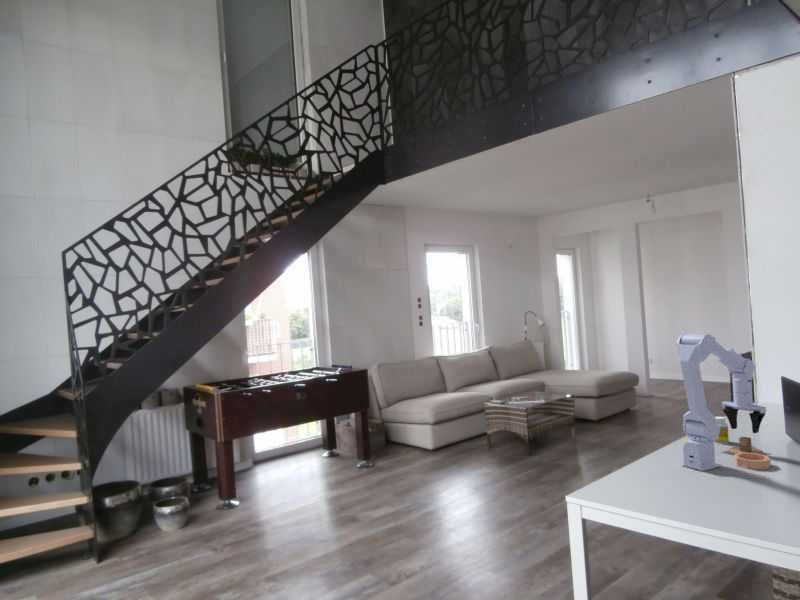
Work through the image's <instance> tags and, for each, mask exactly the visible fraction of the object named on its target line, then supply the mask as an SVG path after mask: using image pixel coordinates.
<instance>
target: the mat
mask: <svg viewBox="0 0 800 600" xmlns="http://www.w3.org/2000/svg"><path fill="white" fill-rule="evenodd" d="M720 453H721V454H727V455H729V456H733V455H732V454H730V453H729V452H728V450H725V451H721V452H720ZM764 455H766V456H770V455H771V453H769V452H764Z"/></svg>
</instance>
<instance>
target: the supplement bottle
mask: <svg viewBox="0 0 800 600" xmlns="http://www.w3.org/2000/svg"><path fill="white" fill-rule="evenodd" d="M715 418H716V422H717V423H718V425H719V428H720V433H719V436H718V438H717V439H716V440H714V444H721V445H725V444H726V445H727V444H729V442H730V440H729V425H728V423H726V417H724V416H715Z"/></svg>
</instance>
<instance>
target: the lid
mask: <svg viewBox="0 0 800 600" xmlns="http://www.w3.org/2000/svg"><path fill="white" fill-rule="evenodd" d="M738 442H739V445H738V446H735V447H730V448H728V449H727V451H728V452H729V453H730V454H732V455H731V456H734V454H738V453H757V454H762V455H764V453H765V452H764V450H761V449H760V448H754V447H752V438H751V437H747V436H742V437H739V438H738Z"/></svg>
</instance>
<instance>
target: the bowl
mask: <svg viewBox="0 0 800 600" xmlns="http://www.w3.org/2000/svg"><path fill="white" fill-rule="evenodd" d="M733 457H734V458H733V459H734V464H735V465H736V466H737V467H740V468H743V469H746V470H747V469H748V470H755V471H756V470H758V471H759V470H760V471H761V470H768V469H770V468H771V466H772V465H771V458H770V457H769V455H767V456H766V455H762V454H757V453H738V454H734V455H733Z"/></svg>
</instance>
